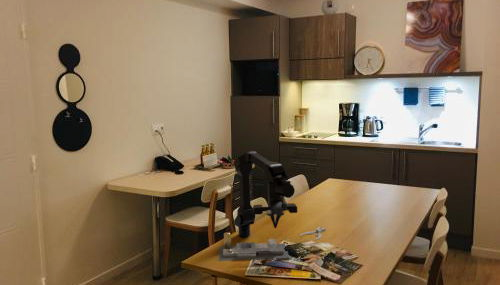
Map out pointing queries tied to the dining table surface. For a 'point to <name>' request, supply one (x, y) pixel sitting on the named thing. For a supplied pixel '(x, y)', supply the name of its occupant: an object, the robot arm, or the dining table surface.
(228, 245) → the brass pin
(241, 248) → the metal latch plate
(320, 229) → the pliers
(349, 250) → the dining table surface
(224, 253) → the grey slotted plate
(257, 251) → the gray rectangular board
